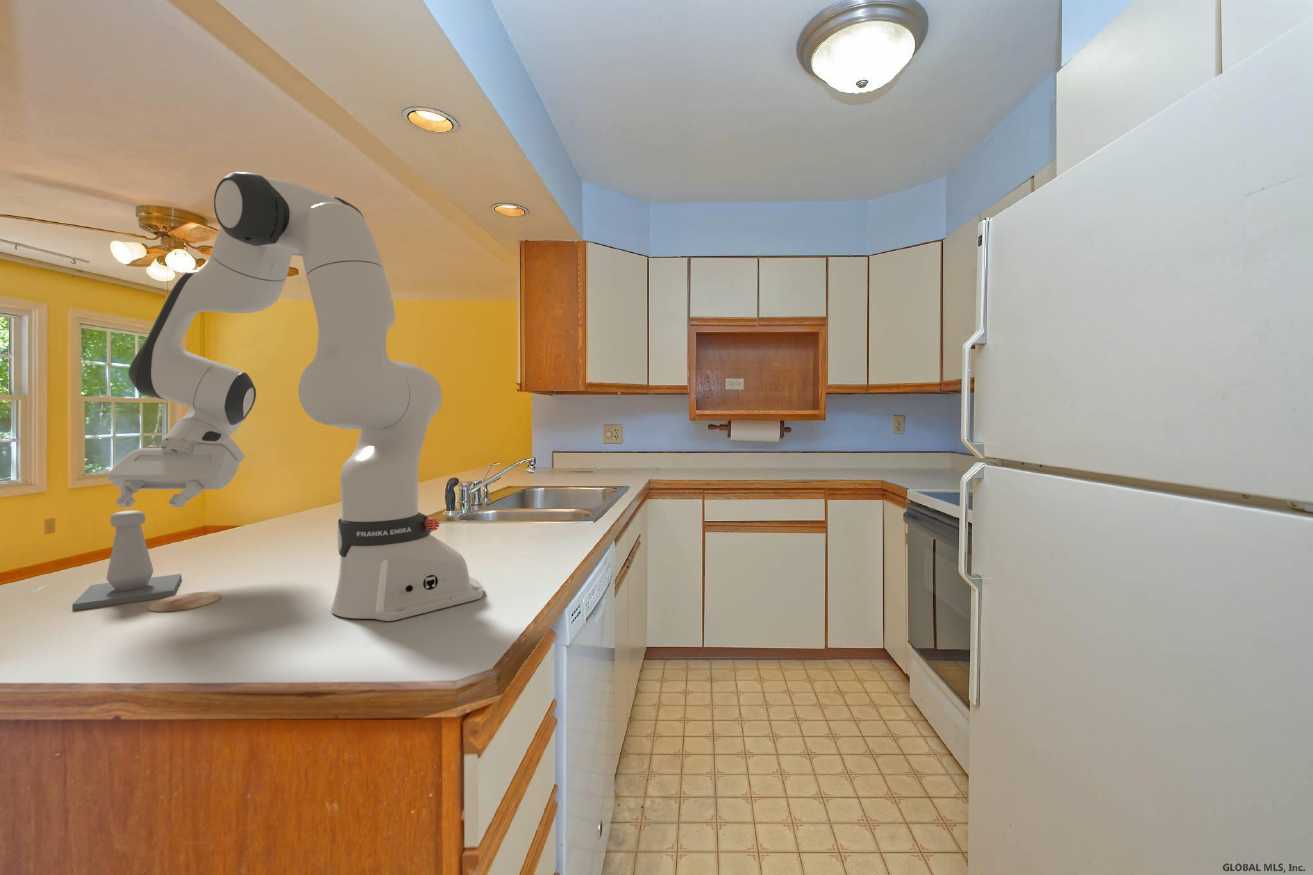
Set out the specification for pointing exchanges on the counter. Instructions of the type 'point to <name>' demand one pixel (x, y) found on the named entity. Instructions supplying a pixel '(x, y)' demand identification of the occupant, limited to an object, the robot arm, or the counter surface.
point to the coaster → (184, 601)
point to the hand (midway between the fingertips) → (148, 505)
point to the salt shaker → (129, 553)
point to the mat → (127, 593)
